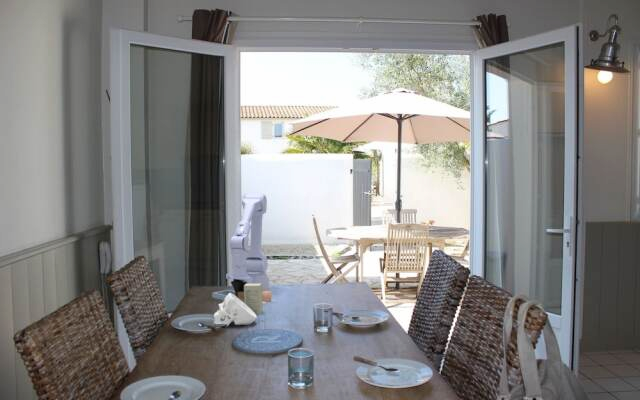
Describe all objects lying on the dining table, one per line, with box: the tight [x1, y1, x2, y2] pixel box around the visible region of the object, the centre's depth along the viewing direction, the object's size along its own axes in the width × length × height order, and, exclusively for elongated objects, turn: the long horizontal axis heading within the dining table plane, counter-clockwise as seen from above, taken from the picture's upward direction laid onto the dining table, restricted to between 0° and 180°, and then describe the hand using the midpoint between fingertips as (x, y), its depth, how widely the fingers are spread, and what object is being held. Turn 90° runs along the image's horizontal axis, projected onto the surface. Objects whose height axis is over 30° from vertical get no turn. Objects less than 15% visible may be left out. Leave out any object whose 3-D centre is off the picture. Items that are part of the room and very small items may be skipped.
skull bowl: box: [212, 293, 257, 328], centre depth 215 cm, size 10×14×12 cm
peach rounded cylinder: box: [262, 289, 272, 303], centre depth 245 cm, size 4×4×4 cm
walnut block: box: [238, 291, 244, 303], centre depth 244 cm, size 4×4×4 cm
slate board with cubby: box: [211, 289, 278, 305], centre depth 249 cm, size 15×24×4 cm, turn 47°
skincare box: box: [244, 283, 264, 315], centre depth 226 cm, size 6×4×12 cm
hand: (239, 298), depth 246 cm, fingers closed
